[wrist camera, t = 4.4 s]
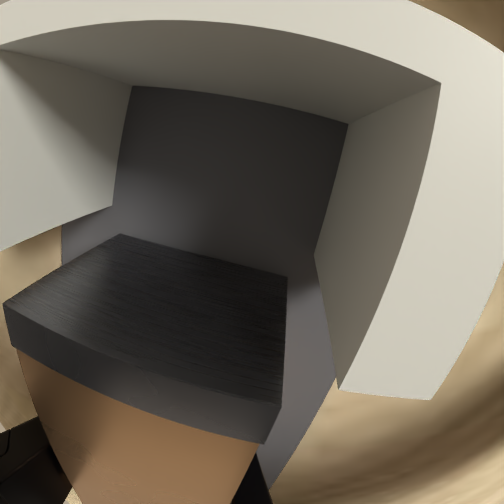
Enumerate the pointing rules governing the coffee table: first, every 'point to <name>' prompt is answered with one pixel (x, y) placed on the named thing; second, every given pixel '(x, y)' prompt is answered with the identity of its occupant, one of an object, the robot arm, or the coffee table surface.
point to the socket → (304, 99)
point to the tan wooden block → (152, 369)
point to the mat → (233, 215)
